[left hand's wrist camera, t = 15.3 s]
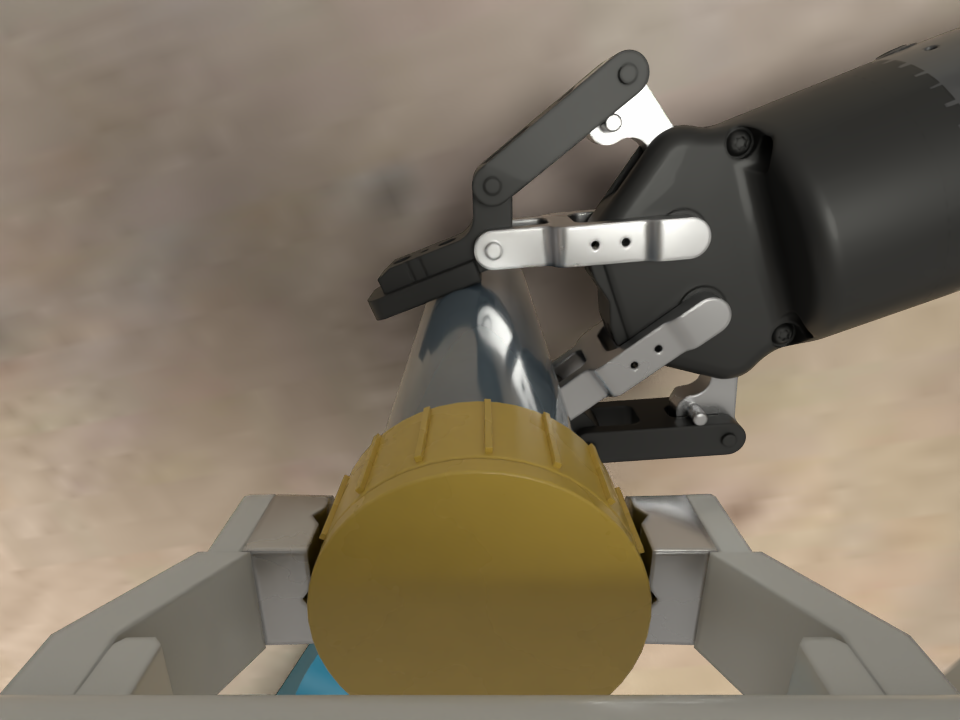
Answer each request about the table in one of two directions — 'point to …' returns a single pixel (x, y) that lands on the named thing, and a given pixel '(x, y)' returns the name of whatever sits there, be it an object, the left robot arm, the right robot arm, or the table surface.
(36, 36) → the table surface
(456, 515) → the lid
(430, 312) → the grey long cylinder
